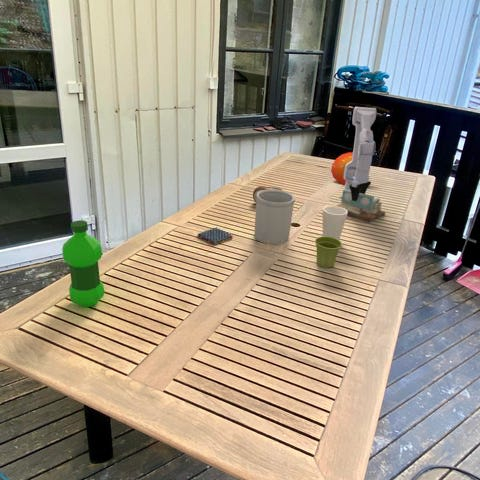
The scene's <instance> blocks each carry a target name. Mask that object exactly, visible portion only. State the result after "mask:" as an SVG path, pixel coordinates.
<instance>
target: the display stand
mask: <svg viewBox="0 0 480 480" xmlns="http://www.w3.org/2000/svg"><path fill="white" fill-rule="evenodd" d="M382 205H383V202H382V201H378V202H377V203H375V204H374V205H373V207H372V210H370V211H369V210H366V209H362V208H359V207H355V206H352V205H348V204H345V203H340V204H337V205H336V206H338V207H342V208H345V209H346V210H347V211H348V213H347V216H350V217H352V218H355V219H357V220H360V221H364V222H367V223H371V222H374V221H376V220H377V219H379V218H381V217H384V216H385V215H386V211H383V210H381V209H382Z"/></svg>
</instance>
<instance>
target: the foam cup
mask: <svg viewBox="0 0 480 480" xmlns="http://www.w3.org/2000/svg"><path fill="white" fill-rule="evenodd" d="M347 213H348V211H347V210H346V209H345V208H342V207H338V206H337V205H326V206H324V207H323V208H322V237H325V236H326V237H333V238H336V239H338V240H339V241H340V239H341V236H342V232H343V229H344V226H345V223H346V220H347V218H348V215H347Z"/></svg>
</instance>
